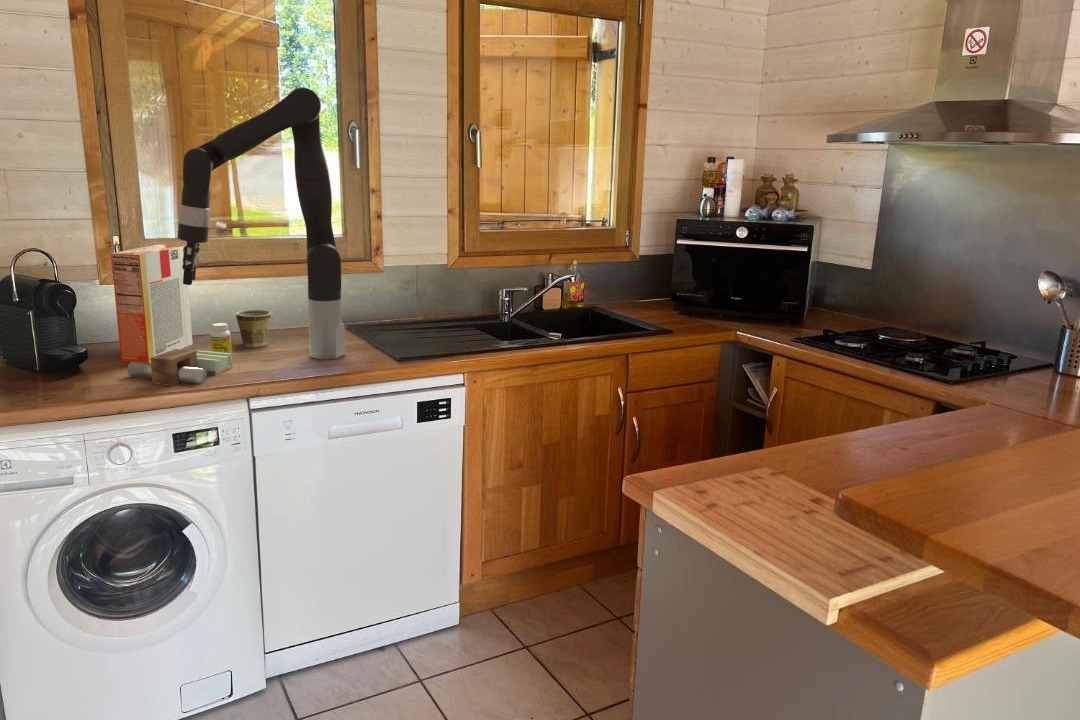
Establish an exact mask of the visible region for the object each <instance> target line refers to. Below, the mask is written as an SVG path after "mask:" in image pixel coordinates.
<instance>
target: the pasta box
mask: <svg viewBox="0 0 1080 720" xmlns="http://www.w3.org/2000/svg"><path fill="white" fill-rule="evenodd" d="M184 246H185V245H176V244H174V245H173V244H162V243H161V244H154V245H149V246H144V247H143V246H142V247H138V248H134V249H128V250H122V251H117V252H112V253H110V258H111V268H112V270H111V271H112V279H113V280H112V281H113V288H114V301H115V311H116V319H117V329H118V330H117V332H118V338H119V349H120V359H121V362H122V363H131V362H143V363H151V357H154V356H157V355H160V354H163V353H165V352H168V351H171V350H174V349H182V348H184V347H186V348H188V347H190V346H189V345H191V346H192V344H193V332H192V319H191V318H192V317H191V305H190V289H189V288H190V287H189V285H185V284H183V275H184V270H183V268H182V266H183V247H184ZM186 265H187V264H186ZM187 346H188V347H187ZM184 349H185V348H184Z"/></svg>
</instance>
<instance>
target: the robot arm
mask: <svg viewBox="0 0 1080 720" xmlns="http://www.w3.org/2000/svg"><path fill="white" fill-rule="evenodd" d="M321 111H322V102H321V99H320V96H319V95H318V94H317V93H316V92H315V91H314V90H312V89H310V88H308V87H304V86H303V87H295V88H294V89H292V90H291V91H290V92H289V93H288V94H286V96H285V97H284V98H282V99H281V100H280V101H278V102H277V103H276V104H275V105H273V106H272V107H270V108H269V109H267V110H265V111H264V112H262V113H260V114H257V115H255V116H254V117H252V118H249V119H248V120H245V121H243V122H241V123H239V124H236V125H235V126H233V127H231V128H229V129H227V130H226V131H223V132H221V133H220V134H218V135H217V136H216V137H214V138H213V139H212V140H209V141H207V142H206V143H203V144H202V145H198V146H197V147H195V148H194V147H193V148H191V149H189V150H187V152H186V153H185V154H184V157H183V162H182V180H183V181H182V183H183V184H182V191H181V192H182V193H181V202H180V208H179V212H178V213H179V214H178V223H177V239H178V240H180V241H184V242H185V243H186V245H183V246H184V247H183V266H182V268H183V270H184V275H183V284H185V285H188V286H191V285H192V284H193V281H194V280H195V279H196V273H197V271H196V270H197V266H198V263H199V259H200V255H201V248H200V243H201V244H204V243H207V242H208V240H209V239H208V238H209V229H210V228H209V226H210V206H211V205H210V204H211V189H210V185H211V179H212V178H211V177H212V171H214V170H216V169H217V168H219V167H221V166H222V165H224V164H226V163H227V162H228V161H232V160H234V159H237V158H239V157H240V156H242V155H244V154H246V153H248V152H249V151H251V150H253V149H255V148H256V147H258V146H260V145H261V144H263V143H264V142H266V141H267V140H269V139H270V138H272V137H274V136H275V135H277V134H279V133H281V132H284V131H286V130H287V129H291V132H292V137H293V144H294V145H293V146H294V148H293V149H294V150H293V151H294V152H293V153H294V155H293V156H294V177H295V182H296V184H295V185H296V192H297V196H298V197H297V198H298V201H299V207H300V210H301V215H302V216H303V217H302V218H303V220H304V226H305V232H306V263H307V265H306V267H307V270H306V271H307V299H308V302H307V303H308V329H309V330H308V332H309V356H310V357H311V358H313V359H317V360H319V359H320V360H330V359H331V360H332V359H333V360H337V359H339V358H340V357H343V356H344V355H346V348H345V347H346V346H345V343H346V342H345V339H346V338H345V337H346V335H345V323H344V322H342V260H341V258H342V257H341V255H340V253H339V251H338V249H337V244H336V241H335V237H334V231H333V224H332V215H333V214H332V212H333V208H332V207H333V204H332V203H333V201H332V200H333V197H332V196H333V195H332V185H331V180H330V179H331V178H330V172H329V168H328V167H329V166H328V163H327V159H326V154H325V151H324V149H323V144H322V139H321V128H320V127H321V126H320V114H321ZM186 264H187V265H186Z"/></svg>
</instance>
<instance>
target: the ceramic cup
mask: <svg viewBox="0 0 1080 720" xmlns="http://www.w3.org/2000/svg"><path fill="white" fill-rule="evenodd" d="M271 313H272V312H271V311H269V310H265V309H263V310H262V309H247V310H240V311H237V312H236V313H235V316H236V321H237V325H238V328H239V332H240V333H239V334H240V336H241V340H242V344H243V345H244V347H246V346H252V347H251V348H257V347H256V346H262V347H264V346H266V345H267V343H268V339H269V331H270V330H269V329H270V328H269V327H270V323H271V316H272V315H271ZM263 345H264V346H263Z"/></svg>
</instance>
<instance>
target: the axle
mask: <svg viewBox="0 0 1080 720" xmlns="http://www.w3.org/2000/svg"><path fill="white" fill-rule="evenodd" d="M126 372H127V375H128V376H129V377H131V378H140V377H143V378H142V379H149V378H152V369H151V363H143V362H129V363H128V365H127V371H126ZM177 373H178V381H181V382H180V383H188V382H189V383H190V384H197V385H198V384H199V385H200V384H204V383H205V382H206V380H207V378H208V377H207V375H208V374H207V373H206V370H205V369H203V368H193V367H183V366H177Z"/></svg>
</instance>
